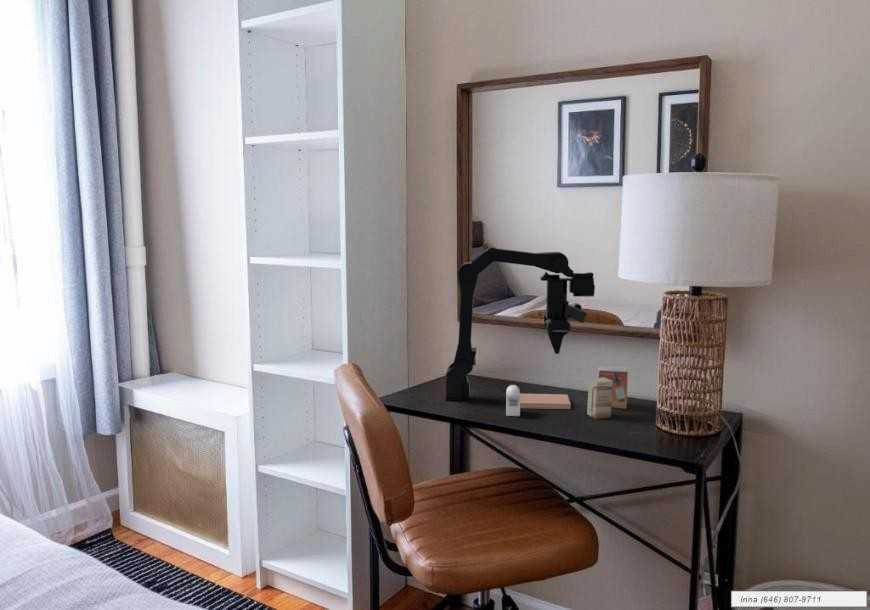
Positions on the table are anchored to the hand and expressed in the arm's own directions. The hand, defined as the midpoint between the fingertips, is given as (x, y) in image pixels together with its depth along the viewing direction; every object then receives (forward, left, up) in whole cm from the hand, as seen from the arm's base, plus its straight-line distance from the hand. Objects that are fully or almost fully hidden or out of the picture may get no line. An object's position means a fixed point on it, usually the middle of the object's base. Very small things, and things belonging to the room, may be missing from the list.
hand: (555, 350), depth 206 cm
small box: (+16, -4, -15) cm, 22 cm away
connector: (-12, -14, -15) cm, 24 cm away
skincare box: (+11, -15, -15) cm, 24 cm away
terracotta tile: (-4, -4, -15) cm, 16 cm away
